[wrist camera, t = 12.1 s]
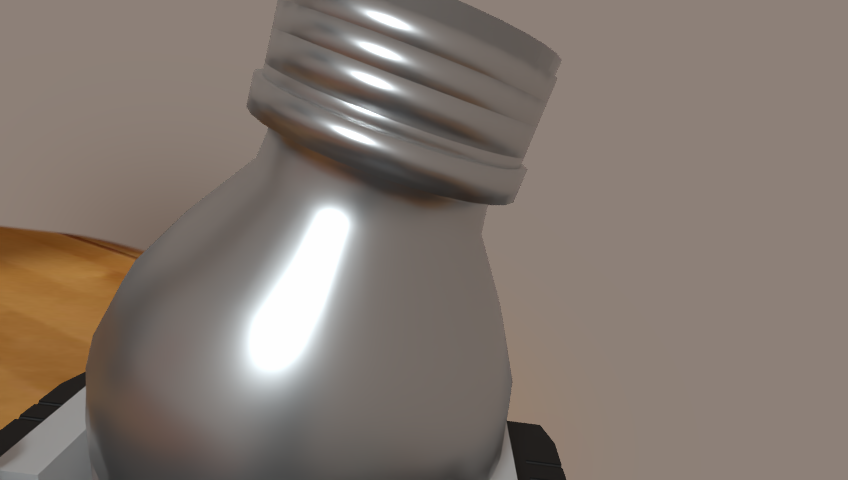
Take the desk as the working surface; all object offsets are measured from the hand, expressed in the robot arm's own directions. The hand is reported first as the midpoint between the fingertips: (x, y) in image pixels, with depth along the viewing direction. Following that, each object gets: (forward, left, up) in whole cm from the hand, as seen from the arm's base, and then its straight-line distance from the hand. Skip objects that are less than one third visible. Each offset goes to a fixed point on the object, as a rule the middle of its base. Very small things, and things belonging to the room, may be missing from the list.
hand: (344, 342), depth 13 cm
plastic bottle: (+2, -5, -12) cm, 13 cm away
